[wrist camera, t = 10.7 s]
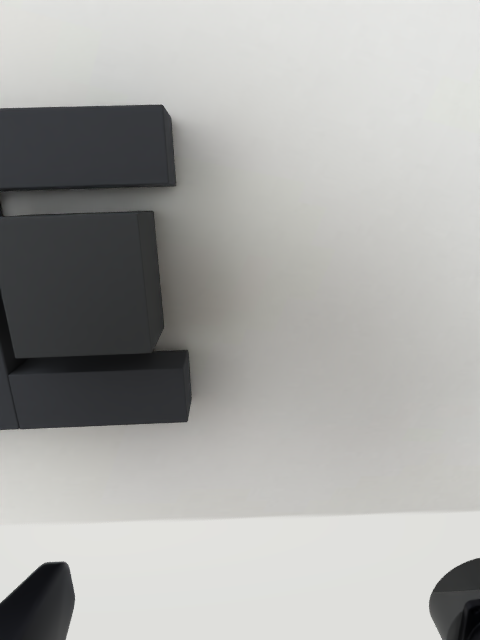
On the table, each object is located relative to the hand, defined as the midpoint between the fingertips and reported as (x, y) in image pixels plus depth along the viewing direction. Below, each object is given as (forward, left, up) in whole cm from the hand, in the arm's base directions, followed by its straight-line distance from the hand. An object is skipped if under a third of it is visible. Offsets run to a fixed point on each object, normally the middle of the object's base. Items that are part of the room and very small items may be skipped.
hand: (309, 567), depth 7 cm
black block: (+4, +7, -11) cm, 13 cm away
